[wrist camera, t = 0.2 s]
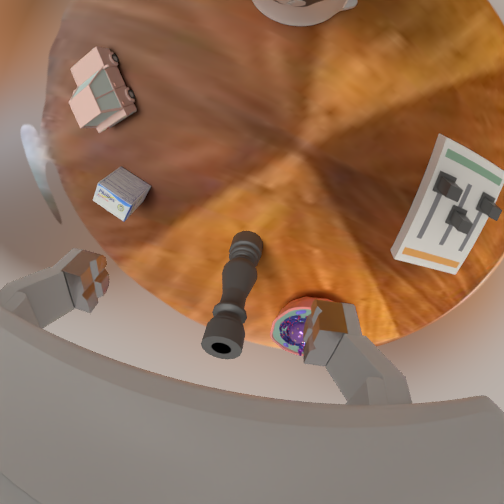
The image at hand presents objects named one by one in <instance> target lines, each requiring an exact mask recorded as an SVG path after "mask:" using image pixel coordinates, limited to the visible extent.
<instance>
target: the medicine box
mask: <svg viewBox="0 0 504 504" xmlns="http://www.w3.org/2000/svg"><path fill="white" fill-rule="evenodd" d="M150 188H151V185H149V184H147V183H146V182H144V181H143V180H141V179H140V178H138V177H137V176H135V175H133V174H132V173H130V172H129V171H127V170H126V169H124V168H123V167H119V168H118V169H117V170H115V171H114V172H112V173H111V174H110V175H108V176H107V177H105V178H104V179H103V180H101V181H100V182H99V183H98V185H97V188H96V192H95V195H94V198H93V201H95V202H96V203H98V204H99V205H100V206H102V207H103V208H105V209H106V210H108V211H109V212H110V213H112V214H113V215H115V216H116V217H118V218H119V219H121V220H122V221H125V220H126V219H127V218H128V217H129V216H130V215H131V214H132V213H133V212H134V211H135V210H136V209H137V208H138V206H139V205H140V204H141V203H142V202H143V201H144V199H145V197H146V195H147V193H148V191H149V189H150Z"/></svg>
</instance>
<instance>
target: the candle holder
mask: <svg viewBox="0 0 504 504" xmlns="http://www.w3.org/2000/svg"><path fill="white" fill-rule="evenodd" d="M262 248H263V242H262V240H261V238H260V237H259V236H258V235H257V234H256V233H253V232H250V231H242V232H239V233H237V234H236V235H235V236H234V238H233V241H232V244H231V247H230V250H229V252H230V254H229V259H230V261H229V262H228V263H226V264H225V266H224V269H223V272H222V281H223V294H222V298H221V301H220V303H218V304H217V305H215V307H214V309H213V316H214V317H213V318H212V319H211V320H210V321H209V322H208V324H207V326H206V330H205V333H204V336H203V339H202V343H201V345H202V348H203V349H204V350H205V351H206V352H207V353H208V354H210V355H212V356H214V357H217V358H221V359H234V358H236V357H238V356H240V354H241V352H242V348H243V343H244V337H245V331H244V327H243V323H245V321H246V319H247V315H246V311H245V310H244V306H245V301H246V298H247V296H248V294H249V292H250V291H251V289H252V287H253V285H254V284H255V282H256V280H257V270H256V268H255V267H256V266H257V264H258V262H259V260H260V258H261V254H262Z"/></svg>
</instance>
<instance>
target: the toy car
mask: <svg viewBox="0 0 504 504" xmlns="http://www.w3.org/2000/svg"><path fill="white" fill-rule="evenodd" d="M118 61H119V59H118V57H117V56H116V55H115V54H113V52H111V51H110V49H108V48H102V47H98V46H96V47H95V48H93V49H92V50H91V51H90V52H89V53H88V54H87V55H85V56H84V57H83V58H82V59H81V60H80V61H78V62H77V63H76V64H75V65H74V66H73V67H72V68H71V72H72V74H73V77H74V79H75V82H76V84H77V86H78V87H77V88H76V90H74V91H73V95H72V97H71V99H70V101H69V104H70V106H71V109H72V111H73V113H74V115H75V118H76V120H77V122H78V124H79V126H80V128H97V130H98V132H99V133H100V132H102V131H105V130H106V129H108V128H111V127H112V126H114V125H115V124H117V123H118V122H120V121H122V120H123V119H125V118H126V117H128V116H130V115H131V114H133V113H134V112H136V111H137V109H136V107H135V105H134V103H133V102H135V100H134V98H135V95H134V93H133V91H132V90H129V87H127V88H126V85H125V83H124V81H123V79H122V76H121V74H120V72H119V70H118V67H117V65H118Z"/></svg>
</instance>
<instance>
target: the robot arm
mask: <svg viewBox="0 0 504 504" xmlns="http://www.w3.org/2000/svg"><path fill="white" fill-rule="evenodd" d="M252 1H253V3H254V5H255V6H256V7H257V8H258V10H259V11H260V12H262V13H263V14H264V15H266V16H267V17H269V18H270V19H272V20H274V21H277V22H279V23H282V24H286V25H292V26H310V25H315V24H318V23H321V22H324V21H326V20H328V19H329V18H331V17H332V16H333V15H335V14H336V13H338V12H339V11H343V10H348V9H352V8H354V7H355V6H356V5H357V0H252ZM106 265H107V262H106V257H104V256H103V255H100V254H97V253H93V252H90V251H86V250H82V249H78V248H73V249H72V250H71V251H69V253H67V254H66V255H65V256H64V257H63V258H62V259H61V260H60V261H59V262H58V263H57V264H56V265H54V266H53V267H52V268H50V267H49V268H46V269H44V270H41V271H38V272H35V273H33V274H30V275H28V276H25V277H22V278H20V279H18V280H15V281H12V282H10V283H7V284H6V285H5V286H4V287H3V288H2V289H1V290H0V504H504V412H503V411H502V410H501V409H500V408H499V407H498V406H497V405H496V404H495V403H494V402H493V401H492V400H491V399H490V398H488V397H487V396H474V397H468V398H462V399H455V400H448V401H440V402H429V403H416V404H412V401H411V397H410V393H409V389H408V385H407V381H406V377H405V376H404V375H403V374H402V373H401V372H400V371H399V370H398V369H397V368H396V367H395V366H394V365H393V364H392V362H391V361H390V360H388V359H387V357H386V356H385V355H384V354H383V353H382V352H381V351H380V350H379V349H378V348H377V347H376V346H375V345H374V344H373V343H372V342H371V341H370V340H369V339H368V338H367V337H366V336H362V332H361V328H360V324H359V320H358V316H357V312H356V308H355V306H354V305H353V304H348V303H338V302H331V301H325V300H319V299H314V301H313V303H312V305H311V314H310V315H308V316H307V319H306V321H305V325H304V330H303V340H304V342H305V343H306V344H305V347H304V349H303V354H304V363H305V364H313V365H319V366H326V369H327V371H328V372H329V374H330V375H331V377H332V378H333V380H334V381H335V383H336V385H337V386H338V388H339V389H340V391H341V392H342V394H343V395H344V397H345V398H346V400H347V403H346V404H326V403H325V404H324V403H312V402H301V401H291V400H283V399H274V398H267V397H261V396H254V395H248V394H242V393H236V392H231V391H226V390H221V389H216V388H211V387H207V386H203V385H198V384H194V383H190V382H186V381H182V380H178V379H174V378H170V377H167V376H163V375H160V374H157V373H153V372H150V371H147V370H143V369H141V368H137V367H134V366H131V365H128V364H126V363H122V362H120V361H117V360H114V359H111V358H109V357H106V356H103V355H101V354H98V353H96V352H93V351H91V350H88V349H86V348H83V347H81V346H78V345H76V344H74V343H72V342H69V341H67V340H65V339H63V338H60V337H58V336H56V335H54V334H52V333H50V332H48V331H46V330H44V329H42V328H44V327H46V326H47V325H49V324H50V323H52V322H54V321H55V320H57V319H59V318H60V317H62V316H64V315H65V314H67V313H68V312H70V311H72V310H73V309H74V308H76V309H79V310H83V311H86V312H88V313H91V312H92V310H93V309H94V308H95V306H96V305H97V303H98V298H99V297H101V296H103V295H104V294H105V293H106V291H107V289H108V286H109V274H108V272H107V271H106V270H105V267H106Z"/></svg>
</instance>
